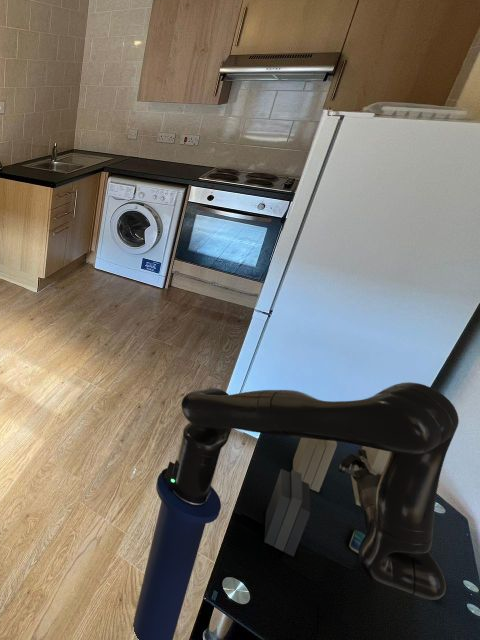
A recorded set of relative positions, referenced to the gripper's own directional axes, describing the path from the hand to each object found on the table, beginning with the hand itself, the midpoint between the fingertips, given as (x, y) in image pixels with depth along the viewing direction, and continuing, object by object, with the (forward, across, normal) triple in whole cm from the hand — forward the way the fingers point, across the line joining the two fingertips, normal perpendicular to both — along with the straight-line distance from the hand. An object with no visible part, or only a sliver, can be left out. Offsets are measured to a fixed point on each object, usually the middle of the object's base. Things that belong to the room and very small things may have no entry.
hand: (371, 456), depth 98 cm
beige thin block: (-3, 0, +9) cm, 9 cm away
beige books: (+15, +7, +24) cm, 29 cm away
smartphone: (-4, -9, +24) cm, 26 cm away
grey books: (-13, +13, +24) cm, 30 cm away
